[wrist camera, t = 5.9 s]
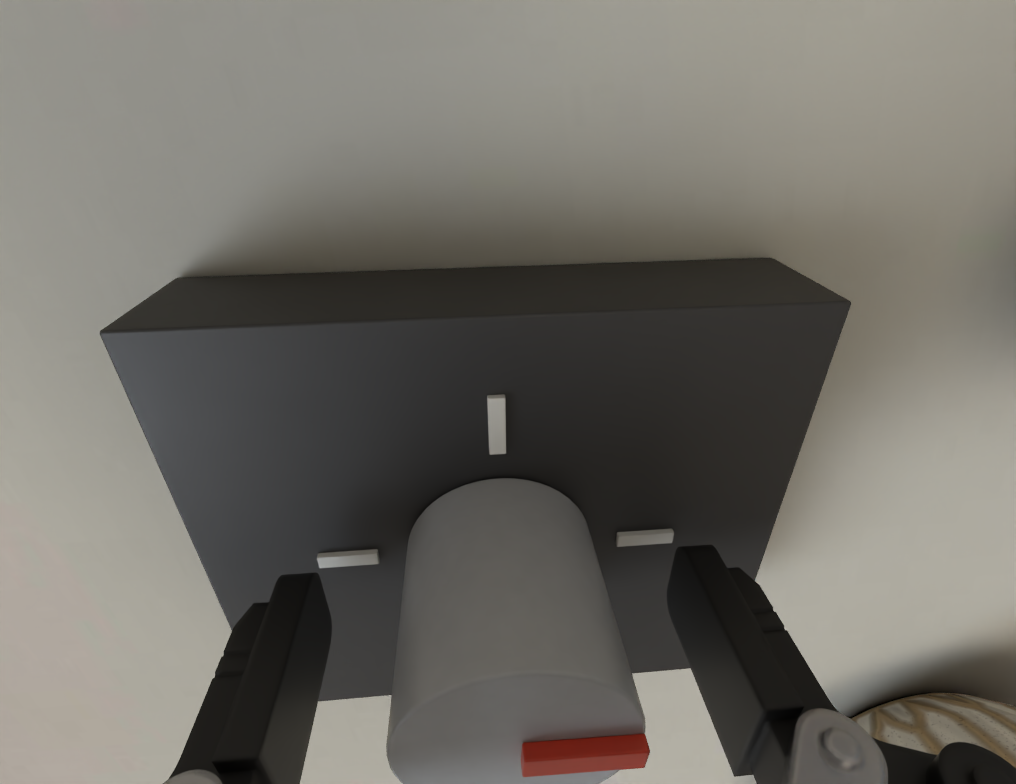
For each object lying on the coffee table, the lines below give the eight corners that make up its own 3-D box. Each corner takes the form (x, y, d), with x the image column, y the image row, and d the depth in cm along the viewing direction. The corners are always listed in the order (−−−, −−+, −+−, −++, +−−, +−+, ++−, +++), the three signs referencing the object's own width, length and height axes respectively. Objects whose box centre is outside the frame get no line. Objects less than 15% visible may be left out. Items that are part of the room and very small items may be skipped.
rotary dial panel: (292, 617, 18) (263, 712, 15) (175, 276, 12) (91, 335, 9) (688, 586, 19) (728, 670, 16) (773, 257, 13) (858, 304, 10)
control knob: (412, 610, 14) (394, 839, 9) (402, 479, 11) (371, 704, 7) (578, 602, 14) (629, 818, 10) (599, 473, 12) (677, 684, 8)
